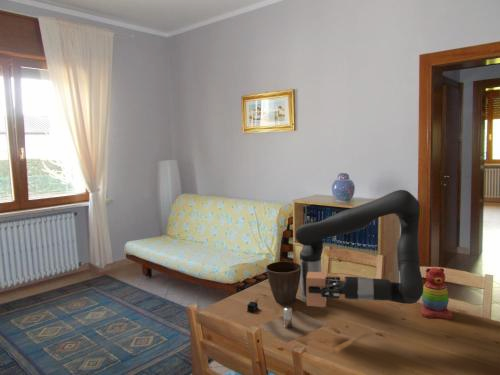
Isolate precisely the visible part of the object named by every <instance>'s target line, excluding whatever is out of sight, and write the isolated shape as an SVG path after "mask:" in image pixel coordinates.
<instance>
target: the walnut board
mask: <svg viewBox="0 0 500 375" xmlns="http://www.w3.org/2000/svg"><path fill="white" fill-rule="evenodd" d="M325 326H327V323H325V322H323V321H322V320H321V321H320V320H318V319H316V318H314V317H312V316H310V315H308V314H306V313H304V312H301V311H299V310H294V311H293V312H292V328H290V329H286V328H284V315H281V316H279V317H277V318H274V319H272V320H269V321H267V322H264V323H262V324H259V325H257V327H259V328H260V329H262V330H264V331H266V332H267V333H269V334H270V335H272V336H274V337H275V338H277V339H278V340H281V341H282V342H285V343H289V342H291V341H294V340H297V339H298V338H300V337H302V336H305V335H307V334H309V333H311V332H314V331H316V330H318V329H321V328H323V327H325Z"/></svg>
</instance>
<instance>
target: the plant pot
mask: <svg viewBox="0 0 500 375" xmlns="http://www.w3.org/2000/svg"><path fill="white" fill-rule="evenodd" d="M265 270H266V276H267V279H268V283H269V287H270V291H271V293H272V296H273V298H274V301H275V303H278V304H280V305H289V304H292V303H294V302H295V300H296V297H297V294H298V291H299V286H300V282H301V279H300V275H301V265H300V263H297V262H293V261H285V260H283V261H276V262H272V263H269V264H267V265H266V267H265Z"/></svg>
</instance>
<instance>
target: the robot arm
mask: <svg viewBox="0 0 500 375" xmlns="http://www.w3.org/2000/svg"><path fill="white" fill-rule="evenodd" d="M420 213H421V204H420V202H419V200H418V199H417V198H416V197H415V196H414V195H413V193H411V192H410V191H408V190H406V189H399V190H394V191H392V192H390V193H388V194H386V195H383V196H381V197H379V198H377V199H374V200H372V201H369V202H366V203H363V204H360V205H357V206H354V207H350V208H348V209H345V210H341V211H339V212H337V213H334V214H333V215H331V216H329V217H327V218H325V219H322V220H320V221H308V222H306V223H303V224H301V225H300V226H298V228H297V229H296V231H295V239H296V241H297V243H299V244H301V245H302V246H303V247H302V249H301V251H300V252H299V264H300V265H301V275H300V297H301V299H303V300H305V301H307V296H306V276H307V273H308V272H322V254H323V251H324V250H323V249H324V239H325V240H326V239H327V238H333V237H338V236H343V235H347V234H350V233H355V232H359V231H361V230H364V229H366V228H367V227H369V225H371V224H372V223H373V222H374V221H376V219H379V218H380V217H384V216H389V215H392V214H395V216H397V217H398V221H399V224H400V236H399V239H398V242H397V248H396V249H397V250H396V252H397V253H396V254H397V256H396V257H397V259H396V260H397V270H398V271H399V277H400V280H399V282H395V281H390V280H389V279H387V278H375V277H373V278H372V277H367V276H366V277H363V276H344V280H341V277H340V276H326V286H325V287H317V286H309V288H308V291H309V293H319V294H320V295H321V296H322V297H326V298H331V299H340V295H344V299H345V300H355V301H357V300H358V301H359V300H361V301H371V300H372V301H388V302H393V303H399V304H407V305H408V304H409V305H411V304H415V303H417V302H419V300H420V299H422V294H423V286H424V282H423V277H422V276H423V275H422V272H421V264H420V263H421V261H420V252H419V251H420V250H419V249H420V248H419V227H420V226H419V223H420V215H421V214H420ZM325 294H326V295H325Z"/></svg>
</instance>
